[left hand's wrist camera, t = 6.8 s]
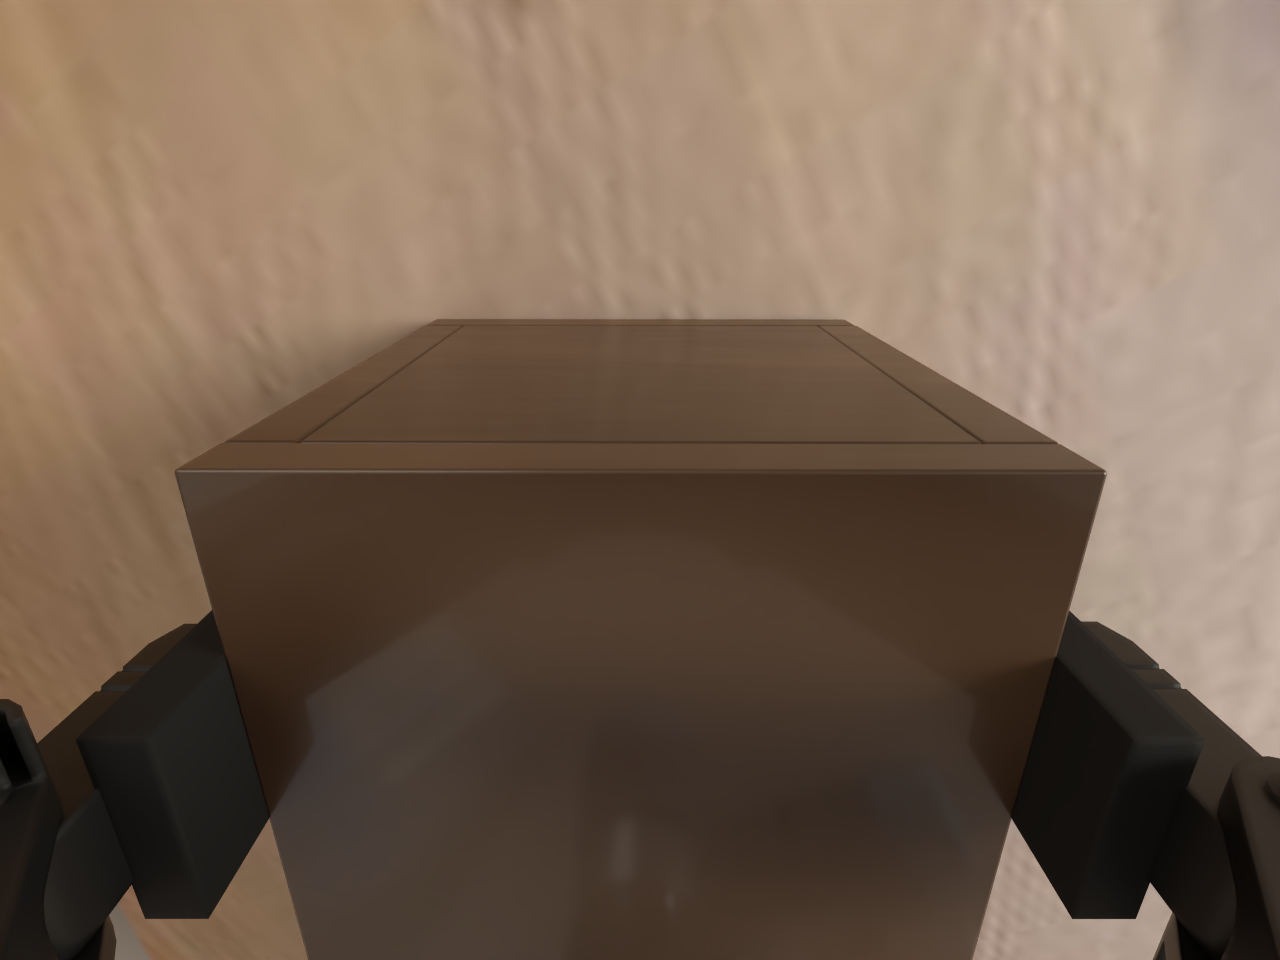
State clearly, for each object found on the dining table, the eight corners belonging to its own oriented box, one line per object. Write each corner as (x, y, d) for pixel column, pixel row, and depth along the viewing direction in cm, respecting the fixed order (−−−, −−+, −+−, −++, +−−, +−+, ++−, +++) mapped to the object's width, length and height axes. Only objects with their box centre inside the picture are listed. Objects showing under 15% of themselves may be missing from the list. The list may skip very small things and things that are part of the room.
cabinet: (780, 904, 25) (867, 1341, 15) (499, 903, 25) (411, 1340, 15) (846, 319, 17) (1110, 470, 8) (435, 318, 17) (171, 469, 8)
